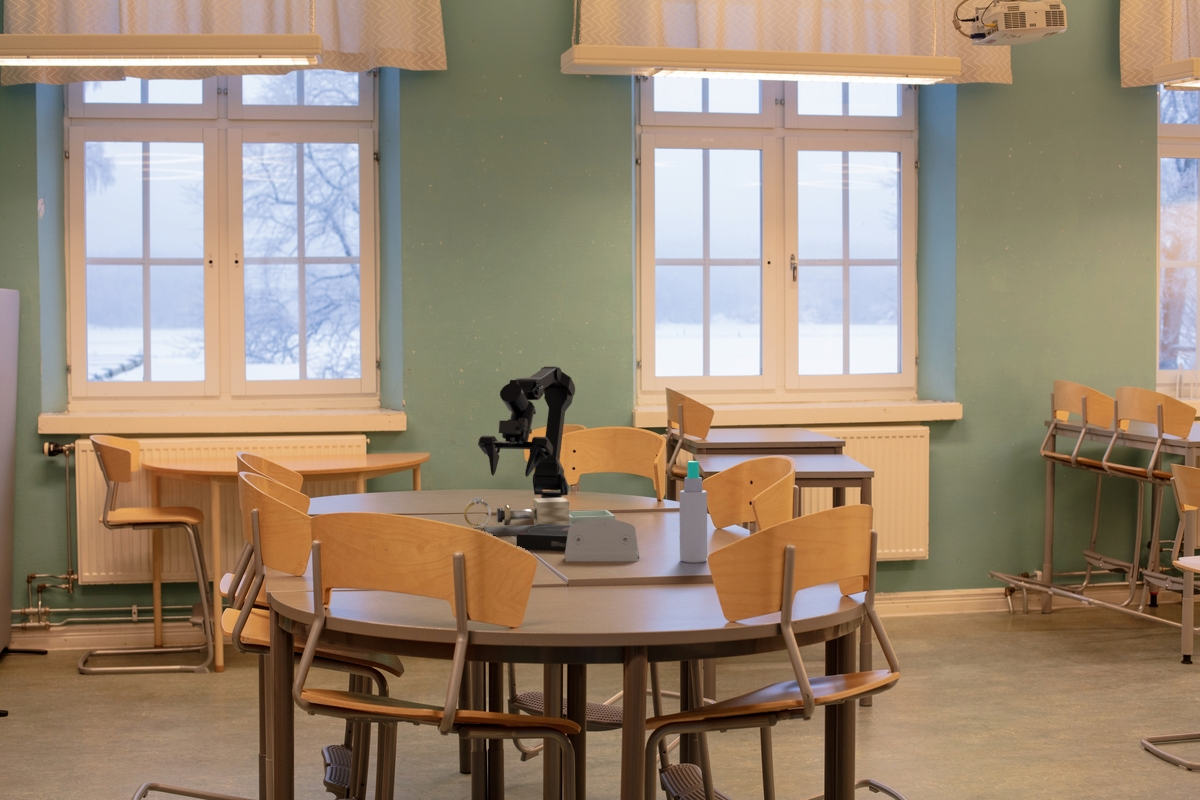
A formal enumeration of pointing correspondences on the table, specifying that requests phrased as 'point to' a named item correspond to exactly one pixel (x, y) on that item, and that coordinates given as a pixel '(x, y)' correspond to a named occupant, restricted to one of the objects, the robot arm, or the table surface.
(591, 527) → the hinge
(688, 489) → the spray bottle
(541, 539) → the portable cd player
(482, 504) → the ring
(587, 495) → the table surface
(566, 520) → the block
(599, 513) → the tray
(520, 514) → the shaft
